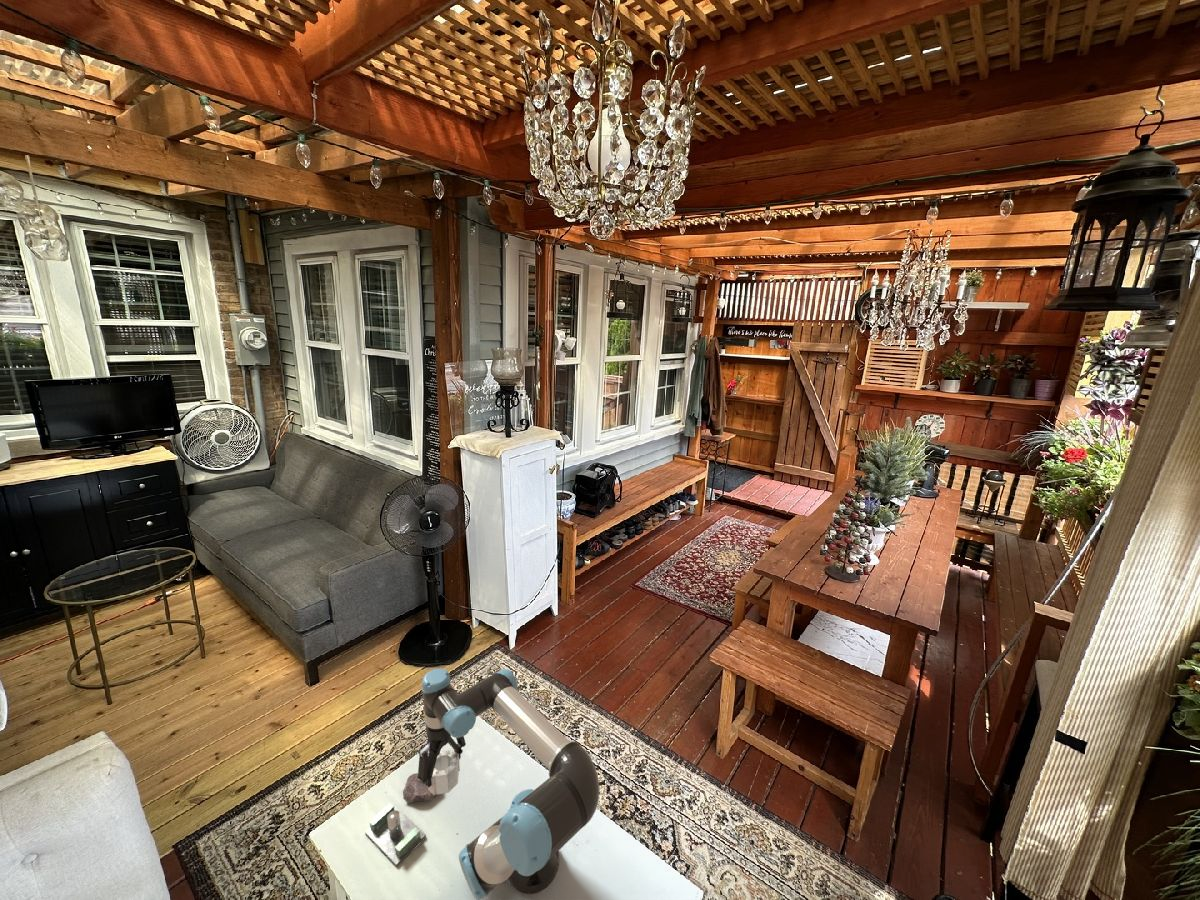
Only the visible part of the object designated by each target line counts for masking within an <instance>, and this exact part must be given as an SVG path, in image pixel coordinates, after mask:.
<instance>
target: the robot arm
mask: <svg viewBox="0 0 1200 900" xmlns="http://www.w3.org/2000/svg"><path fill="white" fill-rule="evenodd" d="M451 681H452V680H451V676H450V673H449V671H448V670H447V669H444V668H434V669H432V670H430V671H428V672H426V673H425V675H424V676H423V677H422V680H421V692H422V700H423V711H424V720H425V721H424V722H425V730H426V731H425V732H426V733H425V734H426V736H427V741H426V745H425V746H424V747H423V748H422V747H419V748H418V751H417V753H418V756H419V757H418V758H419V759H418V770H417V773H418V779H420V780H421V781H422V782H423V783H425V785H426V786H428V790H429V791H430V792H431V793H432V794H433V795H435V794H436V786H435V776H434V775H433V771H434V767H435V764H436V760H437V756H438V755H439V754H440V752H441V751H442V749H443V748H444V746H445V747H446V745H449V746H450V747H451V748H452V750H451V751H452V752H453V753H454V754H456V755H457V757H458V771H459V772H460V771H461V769H460V766H461V765H460V760H461V756H462V754H463V751H464V750H463V749H462V748H465V746H466V743H467V742H466V740H465V736H466V735H468V734H469V731H470V730H472V729H473V728H474V727H475V723H476V720H477V717H479V716H481V715H482V714H483V713H485V712H487V711H488V710H490V709H493V711H495V712H496V713H497V715H498V716H499V717H500V718H501V719H502V721H504V723H506V724H507V726H508V727H509V728H510V729H511V730H512V731H513V732H514V733H515V735H516V736H517V737H518V738H519V739H520V740H521V741H522V742H523V743H524V745H526V746H527V748H528V749H529V750H530V751H531V752H532V753H533V754H534V756H536V758H537V759H538V760H539V761H540V762H541V763H542V764H543V765H544V766H545V767H546V769H547V770H548V776H549V778H547V779H546V780H545V781H544V782H542V783H541V784H540V785H538V786H537V787H536V788H535V789H533V788H529V789H523V790H522V791H520V792H519V793H518V794H515V796H514V797H513V800H512V802H511V804H510V807H509V809H508V810H507V812H505V814H504V815H503V816H502V817H501V818H499V819H498V820H497V821H495V822H494V823H493V824H492V825H491V826H489V827H488V828H487V829H486V830H484V831H482V833H481V834H479V835H478V836H477V837H475V839H473V840H472V841H471V842H470V843H468V844H465V847H463V848H462V849H461V850H460V852H459V854H458V862H459V864H460V867H461V870H462V873H463V876H464V878H465V881H466V882H467V886H468V888H469V890H470V891H471V894H472V895H473V897H474V899H476V900H482V899H484V898H485V897H487V896H488V895H489V894H490V892H492V891H493V890H494V889H495V888H496V887H497V886H498V885H500V884H502V883H504V882H505V881H506V880H508V881H509V883H510V884H511V886H513V888H514V889H515V890H517V891H519V892H521V893H522V894H523V893H524V894H530V895H531V894H536V893H538V892H542V891H543V890H545V889H546V888H547V887H548V886H549V885H551V883H552V882H553V881H554V880H555V877H556V875H557V874H558V873H557V872H558V869H559V865H560V864H559V862H560V859H559V855H560V853H559V851H560V850H561V849H562V848H563V847H564V846H565V845H567V843H568V842H569V841H570V840H571V839H572V838H573V837H574V836H575V835H576V834H577V833H578V832H580V831H581V829H583V828H584V827H585V826H587V825H588V823H589V822H590V821H591V819H592V818H593V817H594V814H595V812H596V810H597V808H598V805H599V800H600V799H599V798H600V797H599V796H600V781H599V776H598V772H597V769H596V766H595V764H594V762H593V760H592V758H591V756H590V755H589V753H588V752H587V750H586V749H585V748H584V747H583V746H582V745H580V743H578V742H577V741H575V740H572V741H570V740H569V739H568V738H567V737H566V736H565V735H563V734H562V733H561V731H559V730H558V729H557V727H556V726H555V725H553V724H552V723H551V722H550V721H549V720H548V719H547V718H546V717H545V716H544V715H543V714H542V713H541V712H539V710H538V709H537V708H536V707H535V706H534V705H532V703H530V702H529V701H528V699H527V698H525V697H524V696H523V695H522V694H521V693H520V692H519V691H518V681H517V678H516V676H515V675H514V673H513V672H512V671H511V670H510V669H508V668H504V669H501V670H499V671H496V672H494V673H492V674H491V675H490V676H488V677H486V678H485V679H482V680H481V681H479V682H477V683H476V684H474V685H472V686H470V687H469V688H466V689H465V690H464V691H461V692H460V693H459V692H458V691H456V689H455V688H454V687H453V685H452V684H451V683H452V682H451ZM455 739H456V741H455ZM436 795H437V794H436ZM436 795H435V796H436Z"/></svg>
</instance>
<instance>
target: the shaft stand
mask: <svg viewBox="0 0 1200 900" xmlns="http://www.w3.org/2000/svg"><path fill="white" fill-rule="evenodd" d="M364 834H365V835H366V836H367V838H368V839H370V841H371V842H372V843H373V844H374V846H376V847H377V848H378V849H379V850H380V851H381V853H383V854H384V856H386V857H387V859H388V860H389V861H390V862H391V863H392V864H393V865H394V866H395V867H396V868H398V867H399V865H401V864H402V863H403V862H404V860H406V858H407V857H408V856H410V854H411V853H413V851H414V850H415V849H416V848H417V847H418V846H419V845H420V844H421V843H422V842H423V841H424V840H425V839H426V838H427V834H426V833H425V832H424V831H423V830H422V829H421V828H420V827H418V825H416V824H415V823H414V822H413V820H411V819H410V818H409V817H408V816H406V814H404V813H403V812H402V811H401V810H400V809H399V808H398V807H397V806H396V805H393V804H392V803H391V802H389V803H388V804H387V805H386V806H385V807H384V808H383V809H381V810H380V811H379V812H378V813H377V814H375V816H374V817H373V818H371V819H370V820H369V828H368V829H367V830H365V833H364ZM425 837H426V838H425ZM424 838H425V839H424ZM423 839H424V840H423ZM422 840H423V841H422ZM421 841H422V842H421ZM420 842H421V843H420ZM419 843H420V844H419ZM418 844H419V845H418ZM417 845H418V846H417ZM416 846H417V847H416ZM415 847H416V848H415ZM414 848H415V849H414ZM413 849H414V850H413ZM412 850H413V851H412Z"/></svg>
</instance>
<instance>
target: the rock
mask: <svg viewBox="0 0 1200 900" xmlns="http://www.w3.org/2000/svg"><path fill="white" fill-rule="evenodd" d="M436 795H437V794H435V795H433V794H432V793H431V792H430V791H429V790H428V786H426V785H425V783H423V782H422V781H421V780H420V779H418V772H417V773H412V774H410V775H409V776H408V777H407V780H406V782H405V786H404V788H403V790H402V796H403V800H405V802H407V803H408V804H409V803H413V802H423V801H432V800H433V799H434V798H435V796H436Z"/></svg>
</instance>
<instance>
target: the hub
mask: <svg viewBox="0 0 1200 900" xmlns="http://www.w3.org/2000/svg"><path fill="white" fill-rule="evenodd" d="M459 772H460V771H458V757H457V755H456V754H454V753H453V752H452V750H451V749H449V750H443V751H442V750H440V754H439V755H438V756H437V760H436V764H435V767H434V771H433V775H434V776H435V786H436V795H442V794H443V795H444V794H448V793H450V792H451V791H452V790H453V789H454V788H455V787H456V786H457V785H458V783H459V774H460V773H459Z"/></svg>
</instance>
